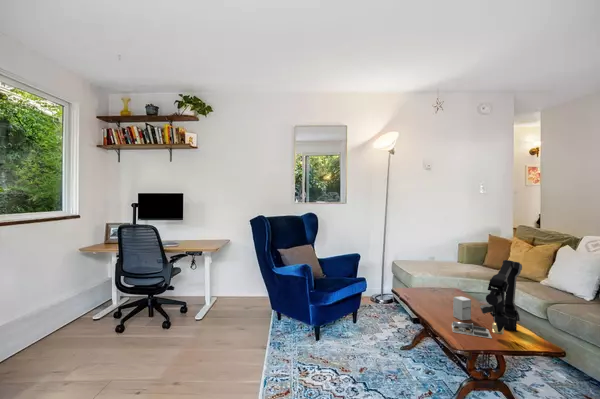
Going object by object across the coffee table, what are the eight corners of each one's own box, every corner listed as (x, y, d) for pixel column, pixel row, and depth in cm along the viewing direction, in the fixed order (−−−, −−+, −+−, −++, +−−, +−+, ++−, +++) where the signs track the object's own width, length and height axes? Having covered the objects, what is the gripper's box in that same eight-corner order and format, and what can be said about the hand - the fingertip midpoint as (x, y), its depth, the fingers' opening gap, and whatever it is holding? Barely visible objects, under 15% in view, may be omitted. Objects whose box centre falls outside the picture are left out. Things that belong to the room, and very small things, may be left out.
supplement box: (461, 320, 188) (462, 300, 188) (452, 316, 195) (453, 296, 195) (471, 319, 190) (471, 299, 190) (462, 315, 197) (462, 295, 197)
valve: (502, 331, 166) (502, 320, 166) (504, 335, 161) (504, 324, 161) (491, 329, 168) (491, 319, 168) (493, 333, 163) (493, 322, 163)
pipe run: (487, 329, 175) (488, 322, 175) (492, 338, 164) (492, 330, 164) (451, 324, 183) (451, 316, 183) (452, 332, 172) (453, 324, 172)
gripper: (478, 294, 176) (478, 321, 176) (484, 304, 159) (483, 334, 159) (501, 296, 172) (500, 324, 172) (509, 307, 154) (509, 338, 155)
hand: (498, 329), depth 164 cm, fingers closed on valve, 5 cm apart
